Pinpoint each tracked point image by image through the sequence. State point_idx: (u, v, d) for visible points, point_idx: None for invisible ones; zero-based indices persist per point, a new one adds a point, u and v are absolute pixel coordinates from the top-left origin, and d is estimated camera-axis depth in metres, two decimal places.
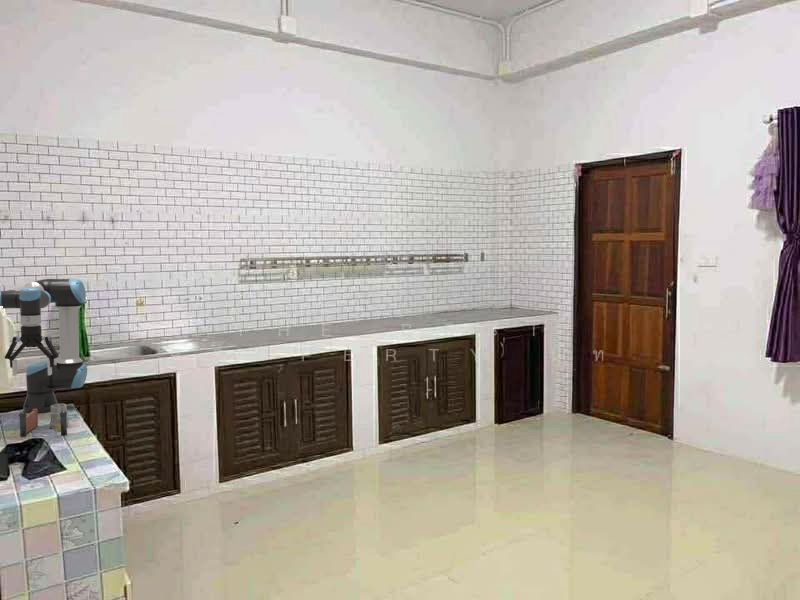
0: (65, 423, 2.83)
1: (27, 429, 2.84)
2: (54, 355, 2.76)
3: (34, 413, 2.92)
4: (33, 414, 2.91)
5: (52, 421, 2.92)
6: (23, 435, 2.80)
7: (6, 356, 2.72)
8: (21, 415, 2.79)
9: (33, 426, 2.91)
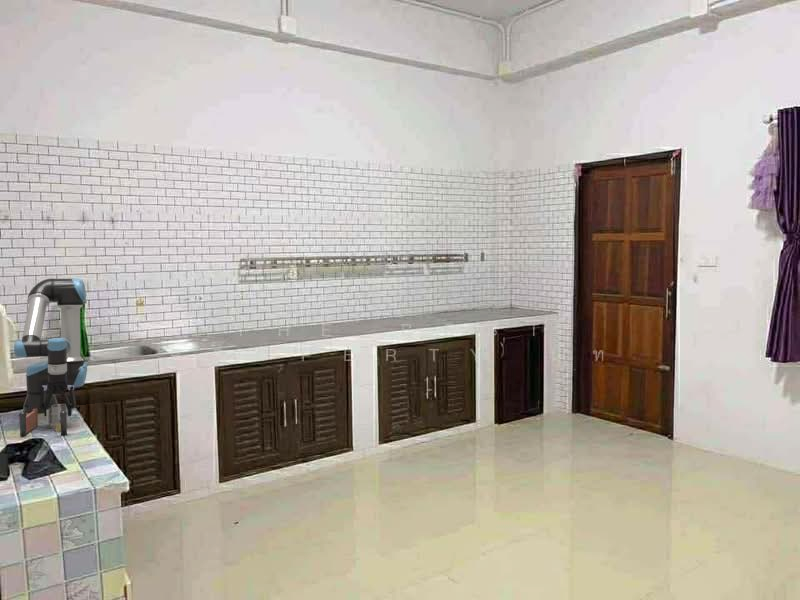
0: (65, 423, 2.83)
1: (27, 429, 2.84)
2: (72, 405, 2.92)
3: (34, 413, 2.92)
4: (33, 414, 2.91)
5: (52, 421, 2.92)
6: (23, 435, 2.80)
7: (40, 406, 2.90)
8: (21, 415, 2.79)
9: (33, 426, 2.91)
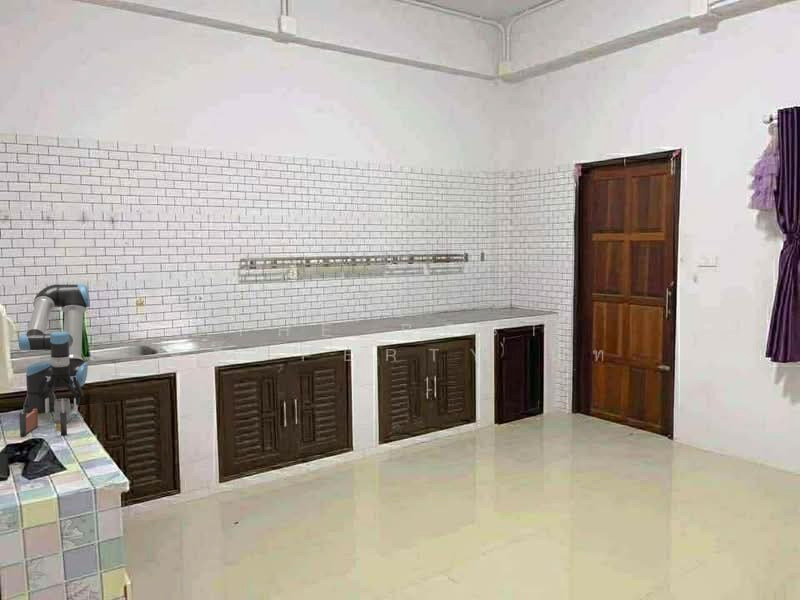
0: (65, 423, 2.83)
1: (27, 429, 2.84)
2: (80, 394, 3.02)
3: (34, 413, 2.92)
4: (33, 414, 2.91)
5: (56, 415, 3.02)
6: (23, 435, 2.80)
7: (39, 395, 2.99)
8: (21, 415, 2.79)
9: (33, 426, 2.91)
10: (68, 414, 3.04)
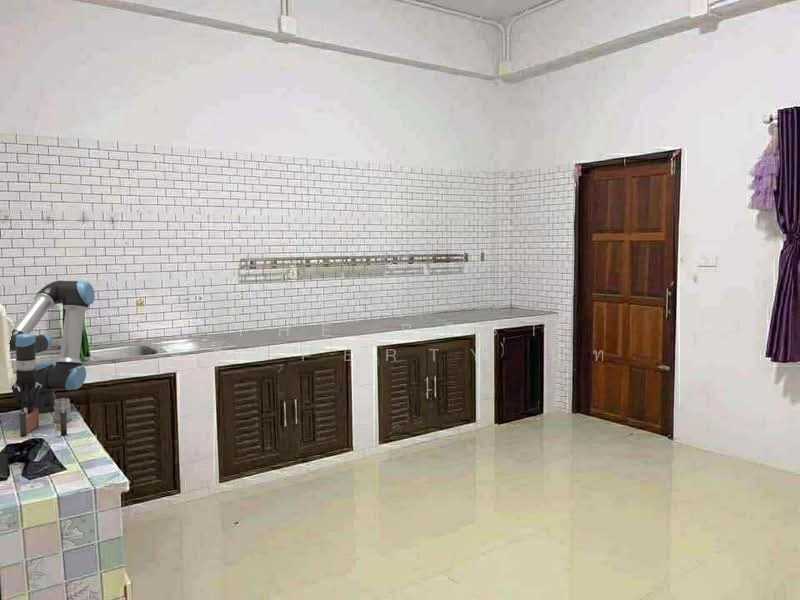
0: (65, 423, 2.83)
1: (27, 429, 2.84)
2: (32, 403, 2.89)
3: (35, 413, 2.92)
4: (34, 414, 2.91)
5: (56, 415, 3.02)
6: (23, 435, 2.80)
7: (17, 403, 2.88)
8: (21, 415, 2.79)
9: (34, 426, 2.91)
10: (68, 414, 3.04)
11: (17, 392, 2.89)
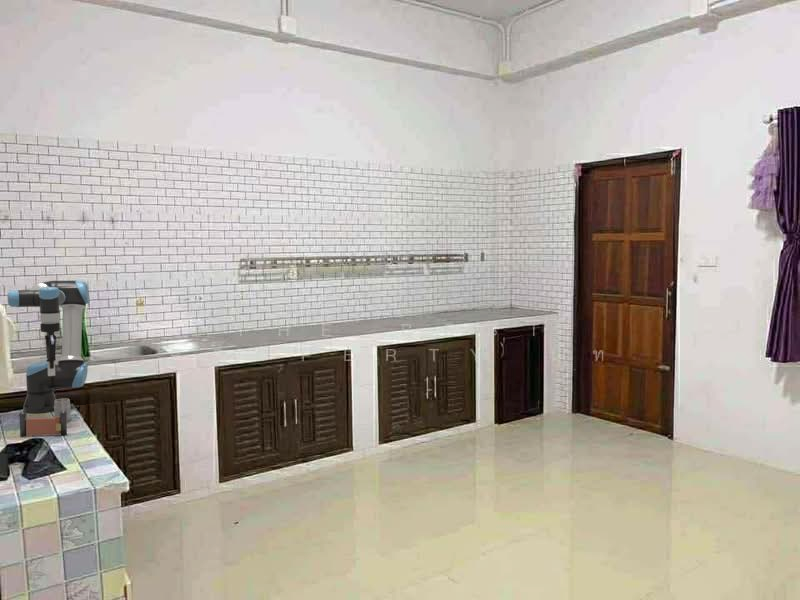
0: (65, 423, 2.83)
1: (30, 431, 2.81)
2: (49, 357, 2.85)
3: (51, 420, 2.82)
4: (48, 420, 2.81)
5: (56, 415, 3.02)
6: (23, 435, 2.80)
7: None
8: (21, 415, 2.79)
9: (48, 432, 2.82)
10: (68, 414, 3.04)
11: None
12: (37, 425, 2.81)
